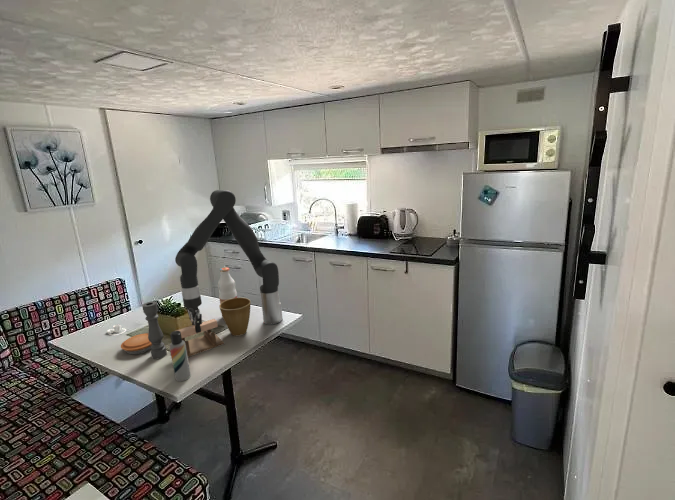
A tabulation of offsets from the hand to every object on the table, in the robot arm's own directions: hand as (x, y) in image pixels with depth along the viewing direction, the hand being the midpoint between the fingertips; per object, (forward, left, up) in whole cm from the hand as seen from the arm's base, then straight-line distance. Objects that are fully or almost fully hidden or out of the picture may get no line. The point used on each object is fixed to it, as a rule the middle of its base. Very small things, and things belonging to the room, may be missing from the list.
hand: (197, 330), depth 165 cm
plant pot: (-20, -2, -9) cm, 22 cm away
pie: (+21, -21, -9) cm, 31 cm away
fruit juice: (-25, -24, -9) cm, 36 cm away
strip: (0, 0, -1) cm, 1 cm away
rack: (0, -3, -9) cm, 10 cm away
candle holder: (+16, -7, -9) cm, 20 cm away
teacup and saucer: (+26, -52, -10) cm, 60 cm away
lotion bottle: (+13, +19, -9) cm, 25 cm away
